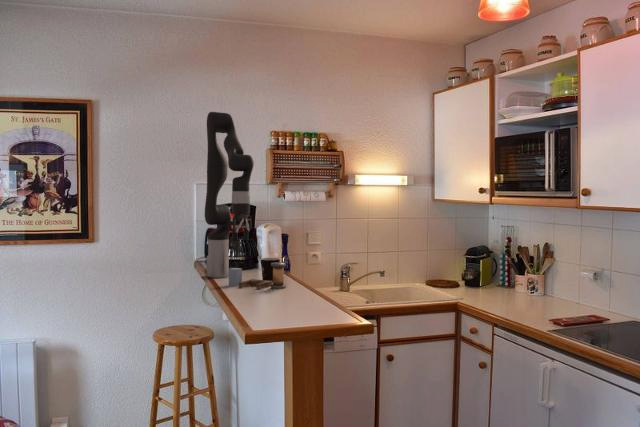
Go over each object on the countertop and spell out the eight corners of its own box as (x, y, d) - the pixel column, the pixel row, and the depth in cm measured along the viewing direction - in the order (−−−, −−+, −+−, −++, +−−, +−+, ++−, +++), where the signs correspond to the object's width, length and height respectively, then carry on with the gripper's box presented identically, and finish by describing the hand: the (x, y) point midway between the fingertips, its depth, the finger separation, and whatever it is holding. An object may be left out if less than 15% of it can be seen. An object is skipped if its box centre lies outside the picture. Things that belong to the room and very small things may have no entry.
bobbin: (268, 288, 219) (268, 263, 218) (275, 285, 224) (275, 262, 224) (281, 289, 216) (281, 264, 216) (288, 287, 221) (288, 263, 221)
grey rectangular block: (228, 285, 224) (228, 268, 224) (233, 284, 228) (234, 267, 228) (236, 286, 223) (236, 269, 222) (241, 284, 226) (242, 268, 226)
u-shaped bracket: (239, 287, 220) (239, 282, 220) (252, 283, 229) (252, 279, 229) (259, 289, 216) (260, 284, 215) (272, 285, 225) (272, 280, 225)
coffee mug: (278, 283, 231) (279, 260, 230) (258, 283, 231) (259, 260, 231) (281, 279, 242) (281, 257, 242) (262, 278, 243) (262, 256, 242)
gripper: (242, 201, 233) (241, 239, 233) (223, 202, 220) (223, 241, 220) (257, 202, 230) (256, 240, 230) (239, 202, 217) (239, 242, 217)
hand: (240, 240), depth 225 cm, fingers open, 8 cm apart
